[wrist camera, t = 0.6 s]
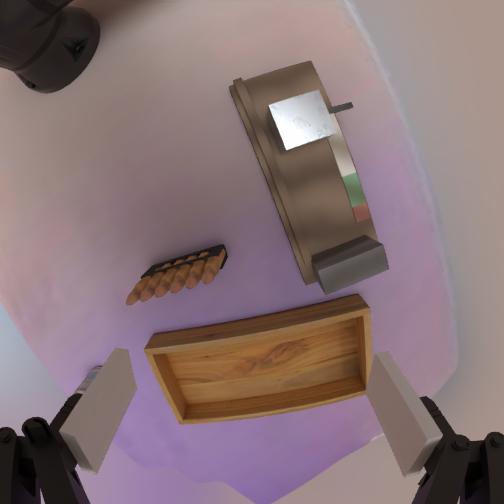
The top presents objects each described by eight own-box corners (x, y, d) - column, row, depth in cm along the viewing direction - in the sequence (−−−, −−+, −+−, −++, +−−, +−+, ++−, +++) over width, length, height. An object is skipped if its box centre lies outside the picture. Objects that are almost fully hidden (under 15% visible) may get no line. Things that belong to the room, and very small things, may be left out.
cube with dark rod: (266, 116, 34) (268, 105, 28) (330, 96, 33) (344, 82, 27) (281, 154, 35) (286, 149, 29) (345, 133, 34) (361, 125, 28)
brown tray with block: (229, 90, 35) (223, 70, 27) (308, 65, 34) (320, 41, 26) (303, 280, 41) (314, 303, 33) (376, 251, 40) (401, 267, 32)
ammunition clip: (223, 243, 40) (211, 271, 28) (228, 257, 40) (217, 289, 28) (151, 266, 40) (116, 298, 29) (156, 278, 41) (123, 314, 29)
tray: (185, 404, 47) (179, 426, 41) (153, 331, 43) (142, 350, 38) (362, 372, 45) (373, 393, 40) (356, 291, 42) (370, 307, 36)
